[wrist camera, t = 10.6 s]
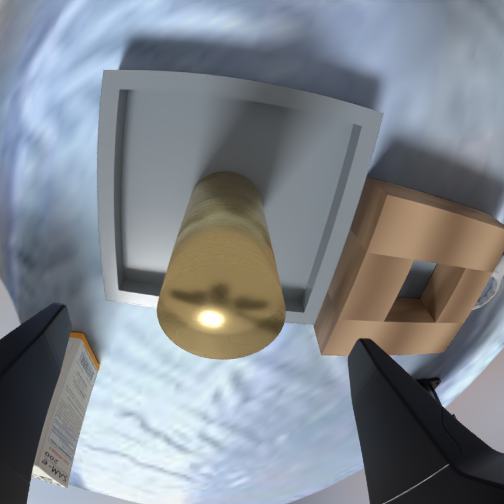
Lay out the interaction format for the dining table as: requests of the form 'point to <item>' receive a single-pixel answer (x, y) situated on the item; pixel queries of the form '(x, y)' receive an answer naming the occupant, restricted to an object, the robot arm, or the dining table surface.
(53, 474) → the supplement box
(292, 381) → the dining table surface
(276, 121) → the tray
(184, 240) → the brass pin
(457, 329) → the pin block
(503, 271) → the wrench
